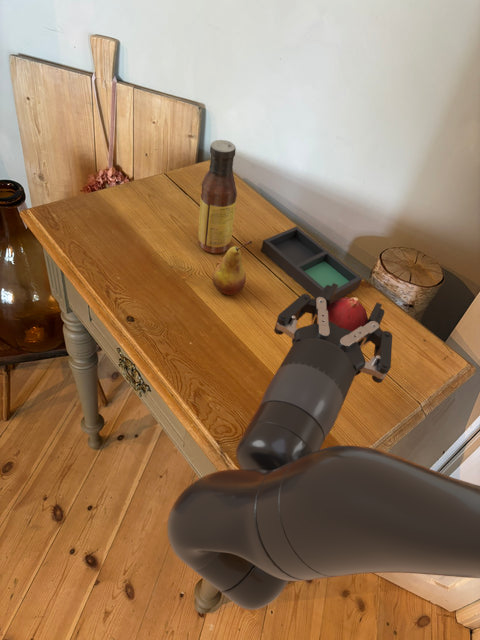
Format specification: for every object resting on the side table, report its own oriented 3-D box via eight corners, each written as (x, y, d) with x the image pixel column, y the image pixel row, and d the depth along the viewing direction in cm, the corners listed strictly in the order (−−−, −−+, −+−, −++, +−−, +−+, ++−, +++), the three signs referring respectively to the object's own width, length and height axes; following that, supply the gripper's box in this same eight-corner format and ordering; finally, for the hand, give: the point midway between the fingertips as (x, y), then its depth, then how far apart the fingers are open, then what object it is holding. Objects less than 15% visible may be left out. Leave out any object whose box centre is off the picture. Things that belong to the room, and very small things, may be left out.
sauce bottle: (236, 244, 89) (253, 147, 74) (217, 260, 85) (232, 161, 70) (208, 229, 90) (220, 132, 76) (189, 244, 86) (197, 144, 72)
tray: (293, 236, 93) (296, 226, 91) (357, 288, 85) (362, 278, 84) (260, 250, 88) (263, 240, 87) (325, 307, 81) (329, 296, 79)
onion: (306, 339, 61) (321, 295, 55) (330, 318, 64) (347, 275, 58) (342, 365, 59) (362, 322, 53) (365, 342, 62) (386, 299, 56)
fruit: (236, 276, 83) (247, 221, 74) (247, 298, 79) (259, 243, 70) (207, 279, 81) (214, 223, 72) (216, 302, 77) (225, 247, 69)
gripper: (386, 406, 43) (422, 301, 54) (251, 339, 46) (311, 252, 57) (359, 443, 49) (397, 341, 60) (240, 381, 52) (297, 295, 63)
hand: (354, 298), depth 59 cm, fingers closed on onion, 5 cm apart
